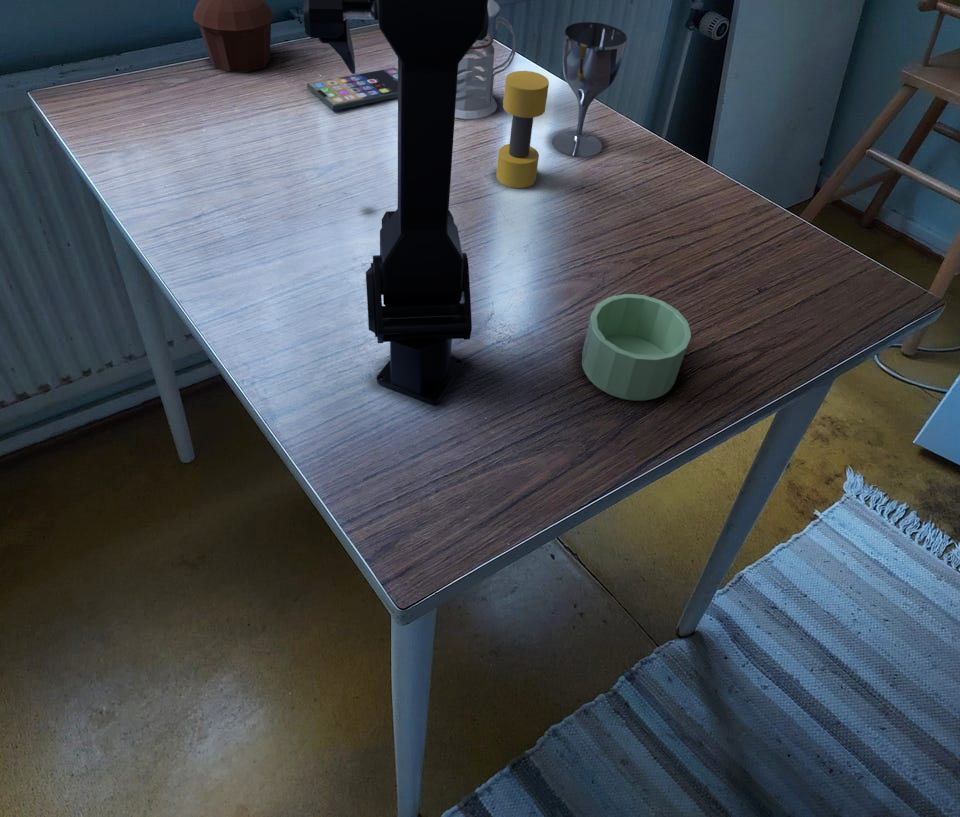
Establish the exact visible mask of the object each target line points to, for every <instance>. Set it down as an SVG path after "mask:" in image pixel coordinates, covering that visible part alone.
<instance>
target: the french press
mask: <svg viewBox="0 0 960 817" xmlns="http://www.w3.org/2000/svg"><path fill="white" fill-rule="evenodd" d="M487 7H488V14H489V20H491V19H492V18H495V17H496V18H495V24H494V26H495V30H496V31H498V30H499V24H501V25H504V26H505V27H506V28H507V29H508V30H509V31H510V34H511V36H512V49H511V51H510V54H509V56H508V58H507V59H506V60H505V61H504V62H503V63H502V64H500V65H497V66H495V67H494V61H495V47H494V45H493V42H494V40H495V37H494V36H493V34H492V33H491V32H489V31H487V37H485V38H484V39H483V40H476V42H475V43H474V44H473V45H472V47H471V48H470V49H469V51H468V52H467V53H466V55H465V56H467V55H474V56H477V57H479V58H474V57H467V58H466V57H465V58H464V57H463V59H462V60H461V61H460V63H459V64H458V76H457V91H456V106H455V119H456V118H457V119H463V120H473V119H474V120H475V119H476V120H477V119H482V118H485V117H489V116H490V115H492V114H493V113H495V112H496V111H497V108H498V104H497V102H496V100H495V99H494V97H493V93H494V92H493V91H494V82H495V81H494V79H495V76H496V75H498V74H501V73H502V72H504V71H506V69H508V68H509V67H510V65H511V64H512V62H513V61H514V58H515V55H516V48H517V40H516V37H515V32H514V28H513V26H512V24H511V23H509V21H508V20H506V18H504V17H503V16H501V15H498V13H499V11H500V8H501V7H500V5H499V4H498V2H496V1H495V0H488V6H487ZM497 15H498V16H497ZM499 19H500V20H499ZM479 50H483V51H484V52H485V55H484V54H483V52H481V51H479ZM507 63H508V64H507ZM506 64H507V65H506ZM505 65H506V66H505ZM476 67H477V68H476ZM478 67H480V68H481V69H482V70H480V69H478ZM502 67H504V68H502ZM500 68H502V69H500ZM497 69H500V70H498V71H495V70H497ZM479 77H481V78H479ZM482 79H483V80H482Z"/></svg>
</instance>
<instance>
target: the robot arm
mask: <svg viewBox="0 0 960 817" xmlns="http://www.w3.org/2000/svg"><path fill="white" fill-rule="evenodd" d="M487 6H488V0H302V11H303V13H302V14H303V23H304V24H303V25H304V34H305V35H306V36H308V37H309V38H311V39H318V41H319V42H320V43H321V44H327V45H329V46H330V47H331V48H332V49H333V50H334V51H335V52H336V53H337V54H338V55H339V56H340V58H341V59H342V61H343V62H344V64H345V65H346V67H347V69H348V70H349V72H350V73H351V75H356V57H355V51H354V45H353V40H352V35H351V30H350V24H349V20H354V21H355V20H359V21H362V20H363V21H364V20H365V21H368V20H369V21H378V27H379V30H380V32H381V33H382V35H383V37H384V38H385V40H386V41H387V43H388V44H389V46H390V48H391V49H392V51H393V52H394V53H395V55H396V57H397V69H398V97H397V208H396V210H389V211H387V210H386V211H385V212H384V214H383V216H382V218H381V228H380V230H379V254H376V255H373V254H372V262H371V263H370V266H369V268H368V269H367V270H366V271H365V284H366V285H365V287H366V301H367V302H366V303H367V304H366V305H367V324H368V325H367V326H368V330H369V332H372V333H373V334H374V337H375V338H376V340H377V344H384V343H389V361H388V362H387V363H386V364H385V365H384V367H383V368H382V369H381V370H380V372H378V374H377V376H376V383H377V384H378V385H381V386H383V387H386V388H388V389H392V390H394V391H397V392H398V393H402V394H405V395H407V396H410V397H412V398H415V399H418V400H420V401H423V402H424V403H425V402H426V403H428V404H430V405H435V404H438V403H439V401H440V400H441V399H442V397H443V396H444V394H445V393H446V391H447V390H448V388H449V387H450V386H451V384H452V383H453V382H454V380H455V378H456V377H457V376H458V374H459V373H460V371H462V368H463V367H464V360H463V359H461V358H459V357H456V356H453V355H452V345H453V344H452V343H453V340H461V339H463V340H470V339H471V335H472V330H473V323H472V305H471V287H470V286H471V285H470V283H471V282H470V270H469V269H470V268H469V259H468V254H467V252H463V250H462V245H461V240H460V234H459V229H458V227H457V225H456V223H455V219H454V218H455V217H454V216H453V214H452V213H451V211H450V197H451V182H452V181H451V180H452V164H453V152H454V151H453V150H454V136H455V120H456V118H455V106H456V91H457V76H458V64H459V63H460V61H461V60H462V59H463V58H464V57H465V56H467V55H466V53H467V52H468V51H469V49H470V48H471V47H472V45H473V44H474V43H475V42H476V40H483V39H484V38H485V37H487V32H489V31H488V30H489V23H490V21H489V20H490V19H489V14H488V7H487Z"/></svg>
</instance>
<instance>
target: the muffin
mask: <svg viewBox="0 0 960 817" xmlns="http://www.w3.org/2000/svg"><path fill="white" fill-rule="evenodd" d="M192 15H193V21H194V23H195V24H196V25H197V26H198V27H199V31H200V33H201V36H202V39H203V42H204V45H205V48H206V49H205V50H206V52H207V55H208V58H209V60H210V62H211V63H212V64H213V66H214V68H216V69H220V70H224V71H226V72H229V73H237V72H238V73H239V72H241V73H250V72H252V71H253V72H254V71H256V70H259V69H263V68H265V67H266V65H267V63H268V62H269V61H270V60H271V40H272V38H271V36H272V34H271V33H272V22H273V20H274V19H275V14H274V11H273V9H272V8H271V6H270V4H269V3H268V2H267V0H198V2H197V4H196V6H195V8H194V11H193V13H192Z"/></svg>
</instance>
